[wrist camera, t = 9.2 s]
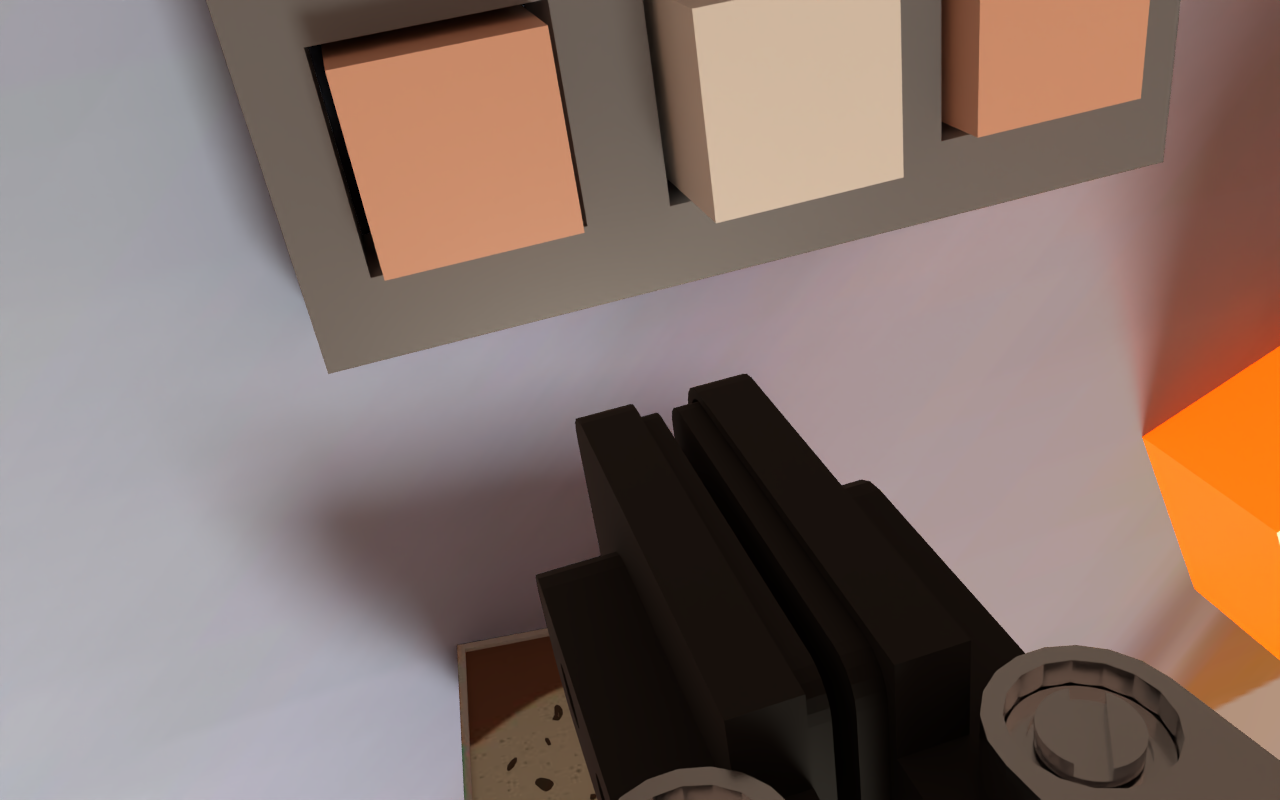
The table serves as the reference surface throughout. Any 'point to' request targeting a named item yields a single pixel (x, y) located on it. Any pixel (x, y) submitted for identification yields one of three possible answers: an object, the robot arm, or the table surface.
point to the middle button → (776, 99)
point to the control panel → (620, 171)
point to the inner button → (1037, 60)
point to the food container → (517, 723)
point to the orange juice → (1229, 495)
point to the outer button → (456, 138)
